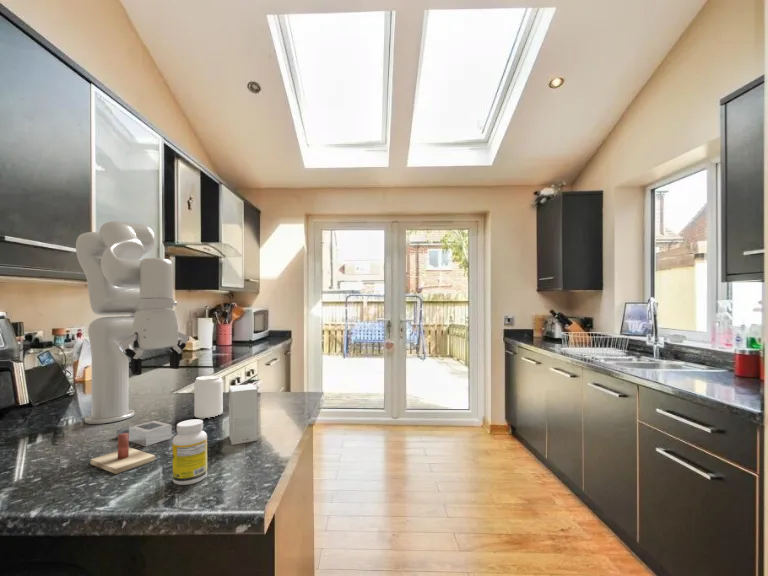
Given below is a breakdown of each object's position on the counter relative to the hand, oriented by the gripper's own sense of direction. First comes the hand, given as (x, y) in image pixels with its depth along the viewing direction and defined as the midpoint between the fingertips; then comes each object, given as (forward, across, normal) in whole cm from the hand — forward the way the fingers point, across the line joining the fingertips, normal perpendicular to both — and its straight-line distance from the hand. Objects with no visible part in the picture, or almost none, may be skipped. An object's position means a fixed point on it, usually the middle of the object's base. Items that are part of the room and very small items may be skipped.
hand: (156, 371), depth 101 cm
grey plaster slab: (+18, 0, -11) cm, 21 cm away
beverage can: (+18, -20, -8) cm, 28 cm away
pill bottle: (+18, +10, +29) cm, 36 cm away
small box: (+18, -11, +19) cm, 29 cm away
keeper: (+18, +12, +8) cm, 22 cm away
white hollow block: (+18, 0, -2) cm, 18 cm away
